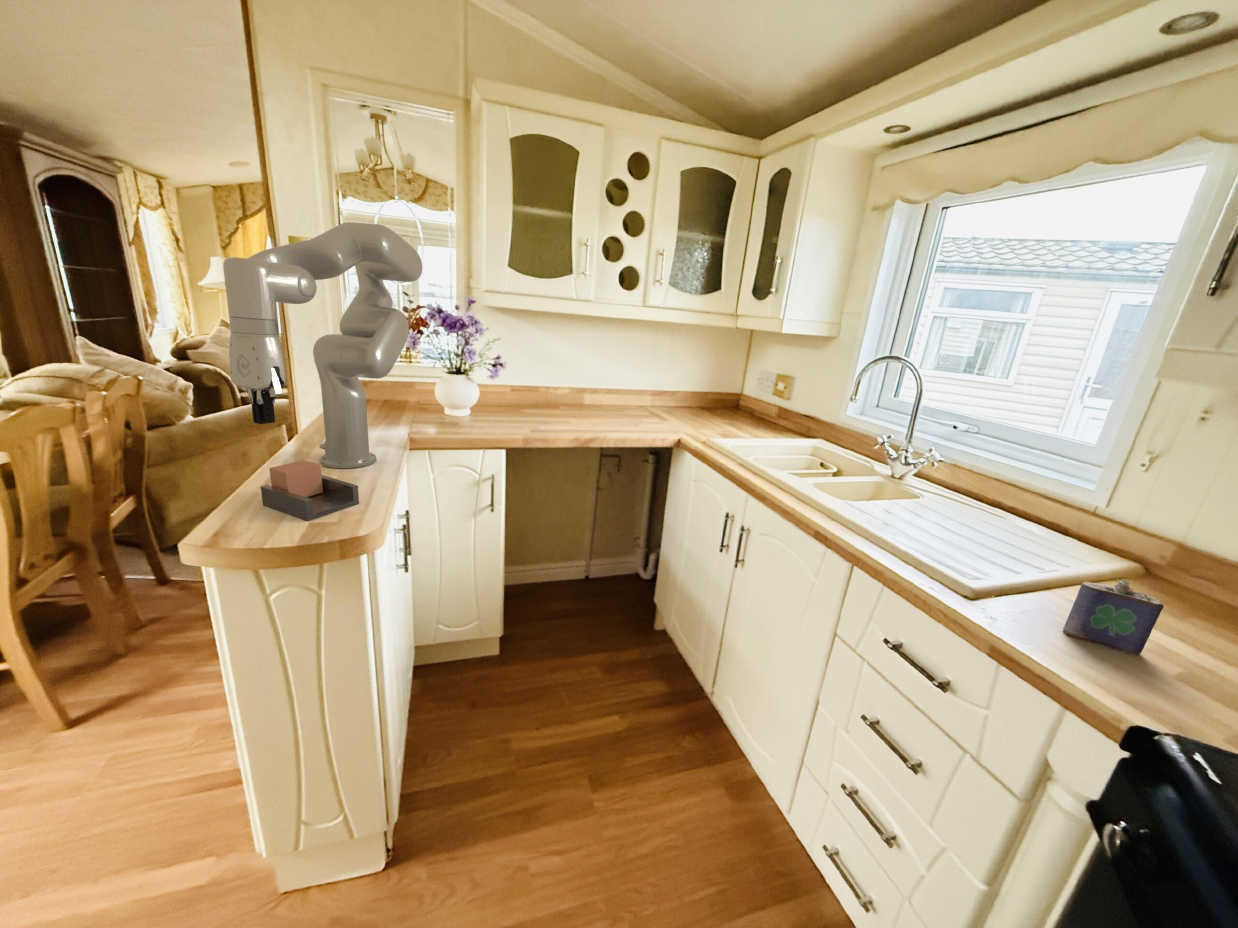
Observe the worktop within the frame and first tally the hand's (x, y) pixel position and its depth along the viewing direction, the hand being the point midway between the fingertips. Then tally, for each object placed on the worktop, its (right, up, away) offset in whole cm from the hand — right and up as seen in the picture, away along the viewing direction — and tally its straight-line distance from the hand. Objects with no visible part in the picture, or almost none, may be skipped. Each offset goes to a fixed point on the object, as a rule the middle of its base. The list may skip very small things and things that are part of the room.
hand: (264, 422), depth 99 cm
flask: (+146, -36, -22) cm, 152 cm away
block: (+6, -14, +2) cm, 16 cm away
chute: (+9, -17, +1) cm, 19 cm away
